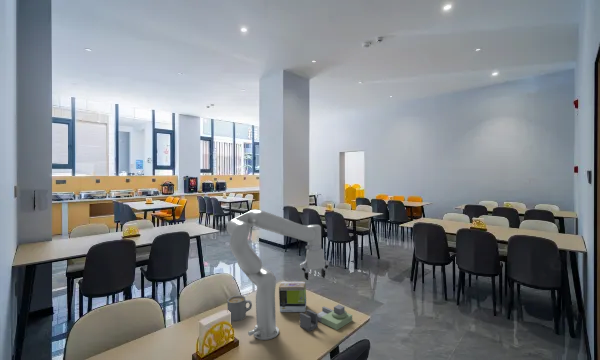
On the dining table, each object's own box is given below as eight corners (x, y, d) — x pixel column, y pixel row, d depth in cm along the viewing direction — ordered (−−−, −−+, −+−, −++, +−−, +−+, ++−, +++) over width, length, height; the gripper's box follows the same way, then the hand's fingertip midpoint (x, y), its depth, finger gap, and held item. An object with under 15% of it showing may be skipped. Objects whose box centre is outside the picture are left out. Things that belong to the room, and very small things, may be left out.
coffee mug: (226, 321, 152) (226, 303, 152) (229, 313, 162) (228, 296, 162) (251, 319, 154) (251, 301, 154) (252, 311, 164) (251, 294, 164)
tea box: (306, 305, 170) (305, 280, 170) (305, 313, 160) (304, 287, 160) (282, 304, 172) (281, 280, 171) (279, 312, 162) (278, 286, 161)
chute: (309, 331, 140) (309, 317, 140) (300, 326, 146) (299, 313, 145) (317, 327, 145) (317, 313, 144) (308, 322, 150) (307, 309, 150)
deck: (336, 330, 141) (336, 315, 141) (310, 317, 155) (310, 304, 154) (352, 320, 150) (352, 306, 150) (326, 309, 163) (326, 296, 163)
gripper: (301, 250, 149) (302, 282, 149) (331, 247, 154) (332, 278, 154) (297, 247, 156) (298, 277, 156) (326, 244, 161) (326, 274, 161)
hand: (315, 278), depth 155 cm, fingers open, 9 cm apart
